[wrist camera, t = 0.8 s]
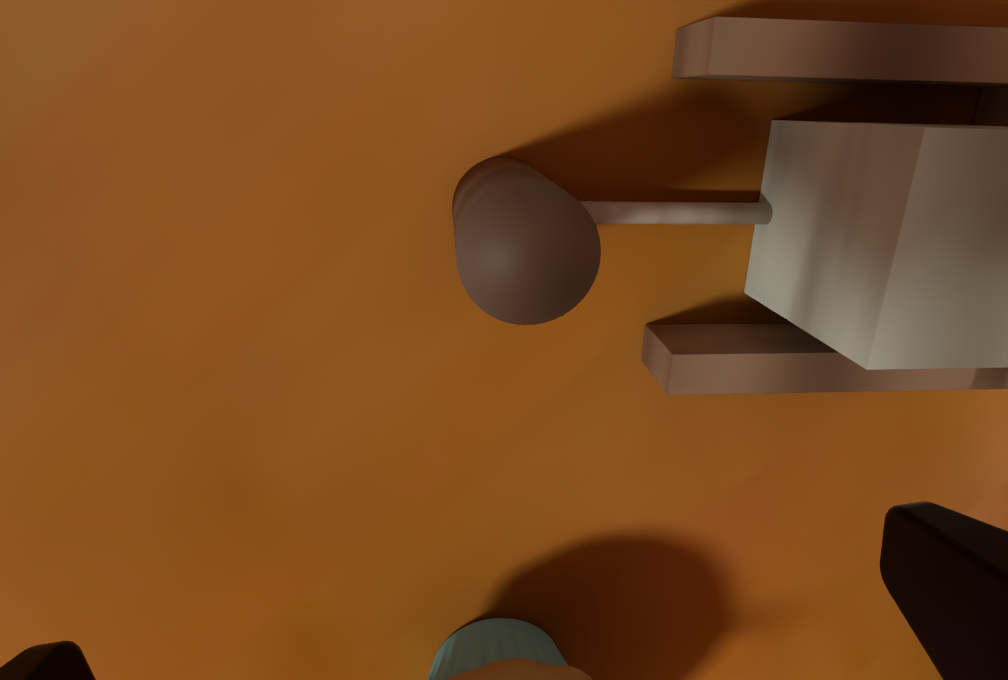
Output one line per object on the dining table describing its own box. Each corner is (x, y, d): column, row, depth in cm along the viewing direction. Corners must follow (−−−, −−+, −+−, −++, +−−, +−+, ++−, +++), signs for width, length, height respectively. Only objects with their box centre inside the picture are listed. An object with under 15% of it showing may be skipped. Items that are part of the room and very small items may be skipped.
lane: (1035, 41, 17) (1126, 31, 15) (944, 356, 21) (1008, 388, 18) (676, 29, 17) (715, 16, 14) (641, 360, 20) (668, 394, 18)
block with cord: (938, 123, 18) (1161, 132, 12) (897, 291, 20) (1076, 366, 14) (451, 112, 17) (456, 117, 11) (452, 294, 19) (457, 376, 13)
